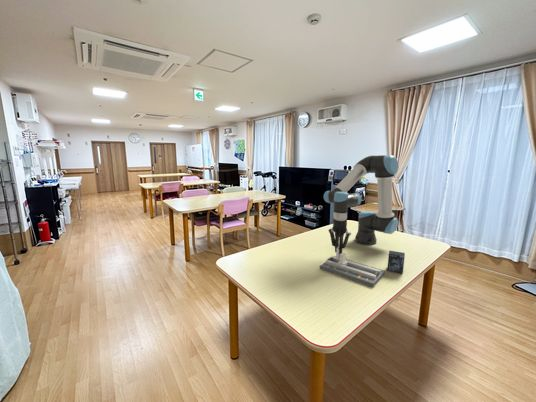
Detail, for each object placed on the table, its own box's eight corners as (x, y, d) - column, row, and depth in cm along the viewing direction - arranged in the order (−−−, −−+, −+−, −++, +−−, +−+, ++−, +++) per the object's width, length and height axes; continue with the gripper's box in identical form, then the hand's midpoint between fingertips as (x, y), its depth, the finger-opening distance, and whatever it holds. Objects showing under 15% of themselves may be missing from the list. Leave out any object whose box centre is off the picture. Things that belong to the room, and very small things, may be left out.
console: (334, 258, 151) (334, 252, 150) (384, 274, 131) (385, 267, 130) (319, 268, 138) (320, 262, 137) (373, 287, 118) (374, 279, 117)
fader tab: (340, 262, 140) (341, 251, 139) (347, 264, 138) (347, 253, 137) (337, 265, 138) (338, 253, 136) (344, 267, 135) (344, 255, 134)
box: (387, 271, 134) (388, 253, 132) (387, 267, 139) (389, 250, 137) (403, 274, 130) (404, 256, 128) (403, 270, 135) (404, 252, 133)
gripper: (326, 218, 136) (325, 257, 141) (348, 222, 127) (346, 263, 132) (332, 216, 142) (331, 253, 146) (354, 219, 133) (351, 259, 137)
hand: (338, 258), depth 139 cm, fingers closed
